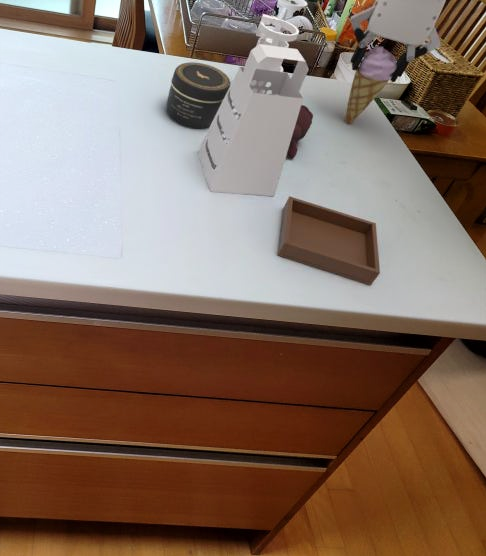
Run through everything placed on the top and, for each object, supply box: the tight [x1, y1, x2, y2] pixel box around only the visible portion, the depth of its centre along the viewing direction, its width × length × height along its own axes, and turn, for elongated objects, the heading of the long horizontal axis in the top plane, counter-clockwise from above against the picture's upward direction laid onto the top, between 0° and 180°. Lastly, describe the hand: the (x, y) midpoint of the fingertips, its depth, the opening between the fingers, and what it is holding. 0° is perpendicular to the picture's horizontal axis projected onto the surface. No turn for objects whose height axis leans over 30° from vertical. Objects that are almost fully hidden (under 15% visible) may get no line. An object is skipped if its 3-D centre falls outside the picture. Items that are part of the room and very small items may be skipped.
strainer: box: [244, 13, 300, 94], centre depth 102 cm, size 7×7×15 cm
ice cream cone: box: [344, 45, 397, 125], centre depth 102 cm, size 7×6×15 cm
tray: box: [277, 196, 381, 286], centre depth 79 cm, size 13×11×2 cm
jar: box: [166, 61, 231, 129], centre depth 96 cm, size 10×10×8 cm
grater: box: [197, 44, 310, 197], centre depth 81 cm, size 10×10×20 cm
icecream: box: [286, 104, 314, 159], centre depth 96 cm, size 7×7×15 cm
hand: (373, 72), depth 100 cm, fingers closed on ice cream cone, 6 cm apart
